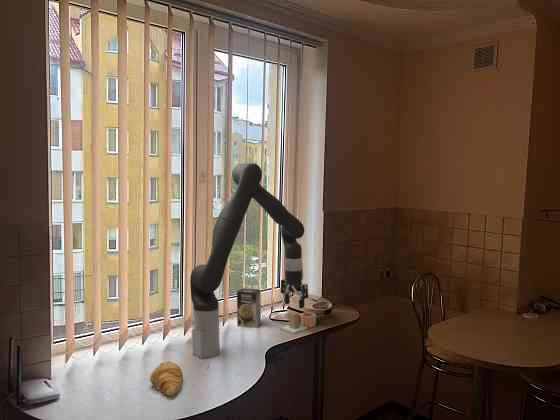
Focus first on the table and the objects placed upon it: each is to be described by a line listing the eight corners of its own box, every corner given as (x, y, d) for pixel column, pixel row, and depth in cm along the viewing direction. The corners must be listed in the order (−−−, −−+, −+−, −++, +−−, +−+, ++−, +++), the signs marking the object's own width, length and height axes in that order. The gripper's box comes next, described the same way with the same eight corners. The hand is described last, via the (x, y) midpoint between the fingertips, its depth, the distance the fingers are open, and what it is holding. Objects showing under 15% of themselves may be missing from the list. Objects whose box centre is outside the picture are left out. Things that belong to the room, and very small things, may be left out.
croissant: (182, 407, 143) (193, 383, 144) (151, 398, 139) (163, 374, 140) (170, 378, 163) (181, 356, 163) (143, 369, 159) (154, 347, 160)
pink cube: (308, 329, 200) (308, 318, 200) (297, 325, 205) (297, 314, 205) (318, 325, 205) (318, 314, 204) (307, 322, 209) (307, 311, 209)
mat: (294, 335, 193) (294, 334, 193) (280, 330, 199) (280, 329, 199) (308, 330, 199) (308, 329, 199) (294, 325, 205) (294, 324, 205)
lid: (294, 333, 194) (294, 317, 193) (281, 329, 199) (281, 313, 199) (306, 329, 199) (306, 313, 198) (294, 325, 204) (294, 309, 204)
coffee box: (236, 327, 204) (236, 291, 202) (242, 323, 210) (241, 287, 208) (256, 329, 201) (255, 292, 200) (261, 324, 207) (260, 288, 206)
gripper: (275, 267, 199) (276, 304, 201) (299, 272, 189) (300, 311, 191) (288, 264, 204) (289, 300, 206) (312, 269, 194) (312, 307, 196)
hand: (294, 305), depth 198 cm, fingers open, 8 cm apart
